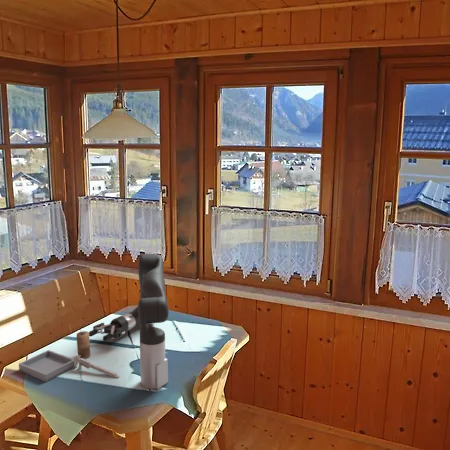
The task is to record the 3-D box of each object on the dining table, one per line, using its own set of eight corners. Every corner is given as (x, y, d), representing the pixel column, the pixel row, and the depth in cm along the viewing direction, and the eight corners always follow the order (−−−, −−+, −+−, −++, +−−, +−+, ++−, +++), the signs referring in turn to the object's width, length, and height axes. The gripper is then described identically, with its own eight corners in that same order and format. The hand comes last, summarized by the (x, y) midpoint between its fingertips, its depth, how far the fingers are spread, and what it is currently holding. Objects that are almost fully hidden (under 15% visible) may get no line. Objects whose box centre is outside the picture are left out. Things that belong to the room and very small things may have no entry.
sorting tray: (75, 366, 190) (75, 359, 189) (46, 382, 178) (45, 374, 178) (49, 356, 198) (48, 349, 197) (19, 370, 186) (18, 363, 186)
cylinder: (92, 355, 199) (91, 332, 197) (83, 360, 195) (82, 336, 193) (84, 352, 202) (83, 330, 200) (75, 357, 198) (73, 334, 196)
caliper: (74, 369, 188) (73, 354, 187) (75, 368, 189) (74, 353, 188) (118, 378, 182) (117, 363, 180) (120, 377, 183) (119, 362, 181)
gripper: (111, 313, 220) (84, 324, 206) (134, 319, 213) (108, 332, 199) (112, 328, 221) (85, 341, 208) (135, 335, 214) (109, 348, 200)
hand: (96, 336), depth 203 cm, fingers open, 8 cm apart
